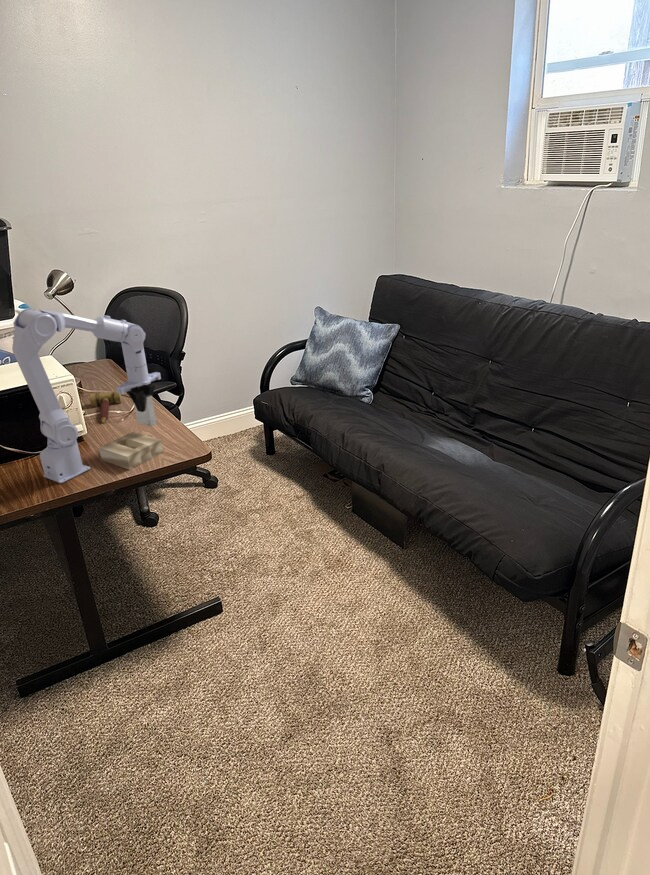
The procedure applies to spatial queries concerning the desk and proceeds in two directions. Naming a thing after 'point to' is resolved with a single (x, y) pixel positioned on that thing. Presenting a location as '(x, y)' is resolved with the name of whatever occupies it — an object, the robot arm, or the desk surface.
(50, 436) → the robot arm
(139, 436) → the beige compartment tray
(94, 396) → the gavel
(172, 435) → the desk surface
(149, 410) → the frosted upright panel
